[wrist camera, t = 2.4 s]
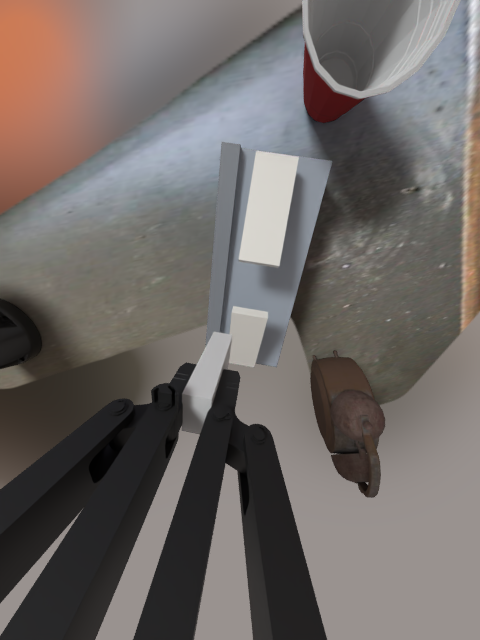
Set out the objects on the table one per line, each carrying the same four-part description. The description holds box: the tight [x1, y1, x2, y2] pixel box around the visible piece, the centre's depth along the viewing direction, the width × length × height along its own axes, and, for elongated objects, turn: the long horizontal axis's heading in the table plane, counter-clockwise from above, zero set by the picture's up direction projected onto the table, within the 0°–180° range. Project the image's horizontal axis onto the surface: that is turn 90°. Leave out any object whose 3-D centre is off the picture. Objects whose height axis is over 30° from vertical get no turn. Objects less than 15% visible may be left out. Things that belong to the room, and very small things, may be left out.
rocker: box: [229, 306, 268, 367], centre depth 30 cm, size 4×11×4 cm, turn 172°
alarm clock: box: [310, 351, 385, 497], centre depth 31 cm, size 15×7×20 cm, turn 10°
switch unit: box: [205, 142, 332, 367], centre depth 30 cm, size 12×28×7 cm, turn 172°
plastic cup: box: [302, 0, 460, 123], centre depth 19 cm, size 11×11×12 cm
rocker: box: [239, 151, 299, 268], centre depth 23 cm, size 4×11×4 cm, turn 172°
